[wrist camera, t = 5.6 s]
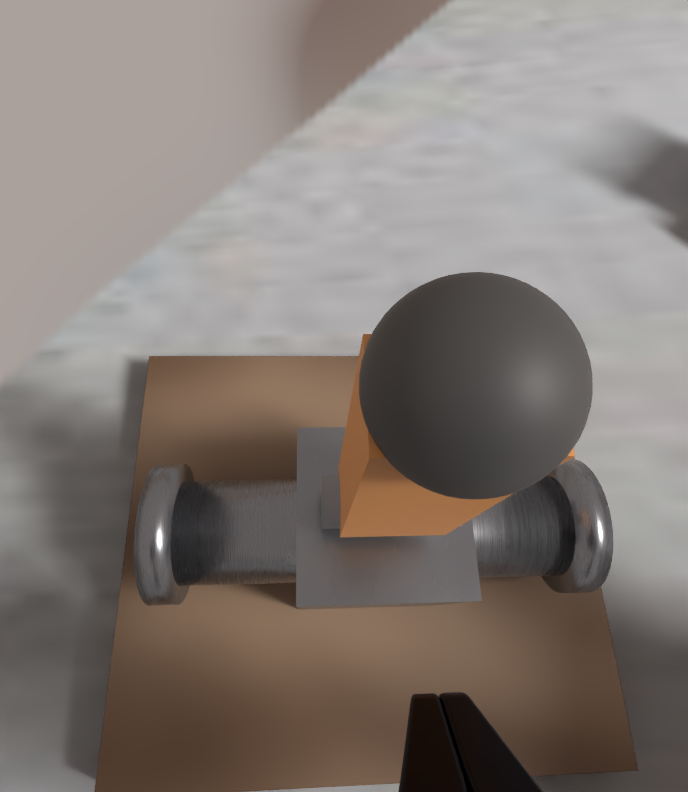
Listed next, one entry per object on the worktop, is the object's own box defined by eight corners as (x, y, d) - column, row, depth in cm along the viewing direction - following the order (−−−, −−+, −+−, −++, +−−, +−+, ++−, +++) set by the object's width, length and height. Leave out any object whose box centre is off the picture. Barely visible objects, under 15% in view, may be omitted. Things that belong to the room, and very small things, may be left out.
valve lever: (458, 560, 12) (710, 462, 5) (321, 563, 12) (342, 467, 4) (446, 453, 13) (638, 223, 6) (320, 454, 13) (335, 219, 5)
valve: (557, 601, 18) (651, 596, 13) (168, 613, 17) (110, 612, 12) (535, 473, 19) (610, 425, 15) (180, 478, 19) (134, 429, 14)
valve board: (617, 760, 17) (638, 770, 16) (108, 786, 16) (93, 799, 15) (542, 369, 22) (554, 356, 21) (157, 369, 21) (149, 356, 20)
